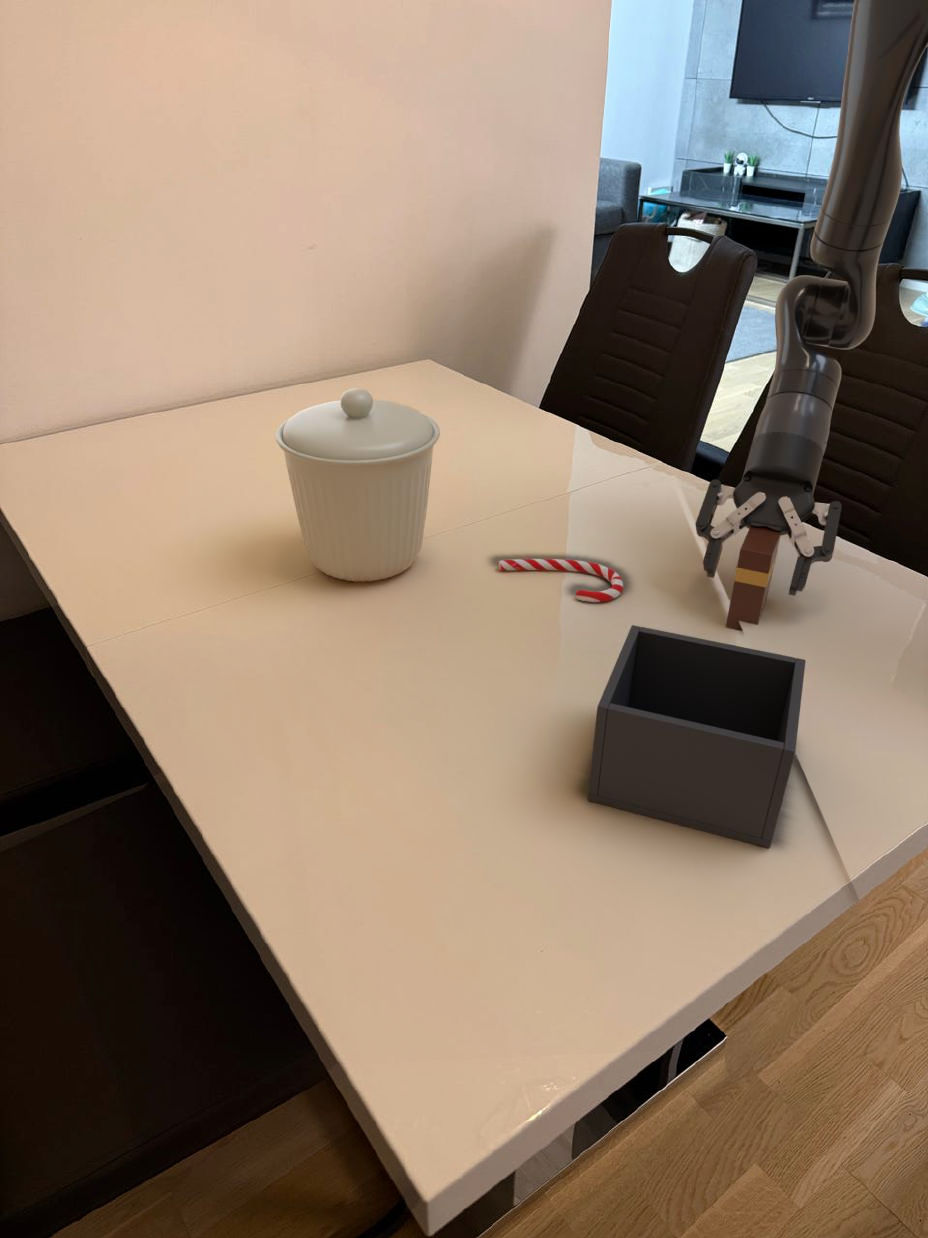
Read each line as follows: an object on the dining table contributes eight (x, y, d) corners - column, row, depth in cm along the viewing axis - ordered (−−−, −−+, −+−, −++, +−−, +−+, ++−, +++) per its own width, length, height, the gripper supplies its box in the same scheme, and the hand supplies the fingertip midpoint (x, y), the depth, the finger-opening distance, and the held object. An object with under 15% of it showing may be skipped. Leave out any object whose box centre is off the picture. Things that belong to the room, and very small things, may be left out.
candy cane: (505, 547, 111) (629, 566, 107) (504, 557, 111) (628, 575, 108) (487, 577, 104) (618, 598, 101) (487, 587, 105) (617, 608, 101)
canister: (442, 598, 103) (442, 417, 92) (280, 601, 102) (260, 418, 91) (437, 526, 118) (437, 364, 107) (296, 528, 117) (281, 365, 106)
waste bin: (782, 750, 81) (805, 659, 76) (769, 848, 71) (795, 751, 66) (620, 713, 85) (631, 624, 80) (586, 800, 75) (597, 706, 70)
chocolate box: (765, 607, 102) (782, 530, 97) (756, 634, 97) (773, 555, 92) (735, 600, 103) (750, 524, 98) (724, 627, 98) (739, 548, 93)
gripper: (721, 419, 99) (681, 558, 96) (861, 441, 94) (823, 588, 91) (723, 449, 105) (686, 580, 103) (854, 471, 100) (818, 609, 98)
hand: (750, 584), depth 97 cm, fingers open, 8 cm apart
